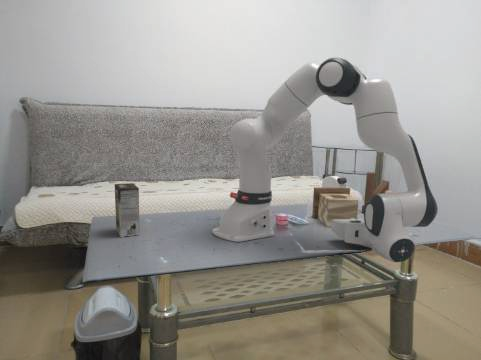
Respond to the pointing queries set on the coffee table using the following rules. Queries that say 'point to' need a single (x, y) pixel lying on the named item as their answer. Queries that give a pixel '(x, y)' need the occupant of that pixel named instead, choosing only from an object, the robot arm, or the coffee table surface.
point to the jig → (325, 191)
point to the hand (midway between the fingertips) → (354, 219)
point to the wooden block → (370, 188)
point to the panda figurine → (333, 181)
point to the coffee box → (127, 209)
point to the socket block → (336, 207)
